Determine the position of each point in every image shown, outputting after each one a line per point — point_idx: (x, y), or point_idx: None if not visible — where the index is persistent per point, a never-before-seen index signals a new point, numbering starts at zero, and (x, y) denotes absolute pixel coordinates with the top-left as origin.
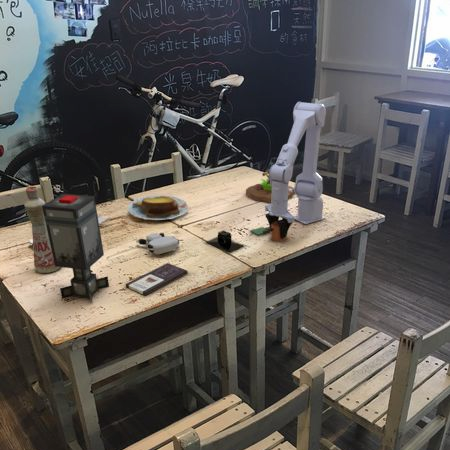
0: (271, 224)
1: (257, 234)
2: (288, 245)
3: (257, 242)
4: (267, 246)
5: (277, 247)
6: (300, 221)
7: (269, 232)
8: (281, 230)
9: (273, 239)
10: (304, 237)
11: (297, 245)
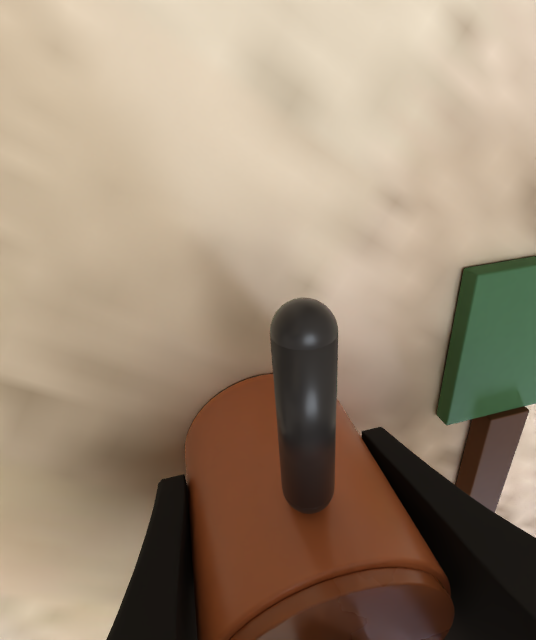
0: (410, 557)
1: (480, 274)
2: (35, 479)
3: (307, 164)
4: (98, 235)
5: (9, 350)
6: None
7: (438, 411)
8: (117, 624)
9: (245, 389)
10: None
11: (3, 550)
